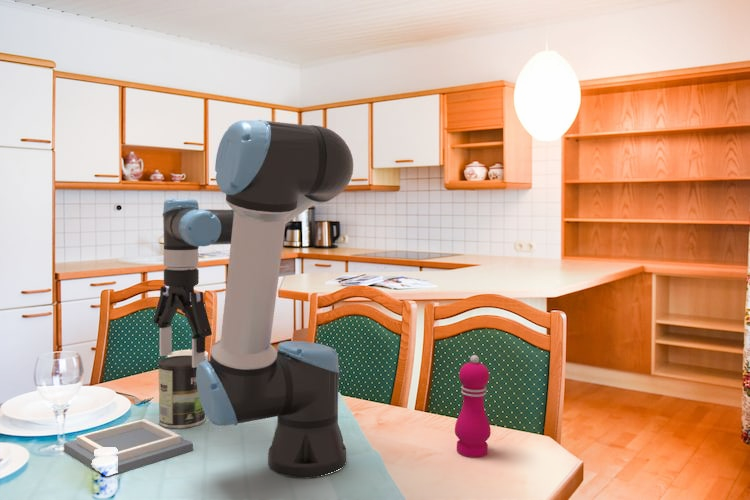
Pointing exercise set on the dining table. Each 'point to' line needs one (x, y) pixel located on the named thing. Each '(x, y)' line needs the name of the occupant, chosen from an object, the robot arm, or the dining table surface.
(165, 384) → the coffee can
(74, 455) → the grey square tray
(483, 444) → the pepper mill
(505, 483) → the dining table surface
